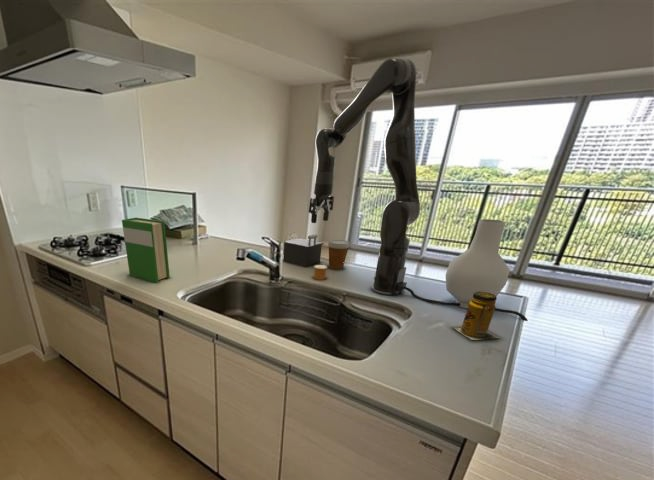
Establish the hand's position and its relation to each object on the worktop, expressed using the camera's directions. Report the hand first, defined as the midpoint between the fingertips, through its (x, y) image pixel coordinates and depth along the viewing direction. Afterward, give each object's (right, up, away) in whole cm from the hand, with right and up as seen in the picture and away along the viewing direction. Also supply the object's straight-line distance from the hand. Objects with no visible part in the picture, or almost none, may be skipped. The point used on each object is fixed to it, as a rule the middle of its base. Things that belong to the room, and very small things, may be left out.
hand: (319, 221), depth 149 cm
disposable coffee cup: (+9, -20, +7) cm, 23 cm away
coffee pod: (-2, -26, -7) cm, 27 cm away
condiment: (+31, -47, -53) cm, 77 cm away
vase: (+41, -38, -34) cm, 66 cm away
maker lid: (-5, -7, +12) cm, 15 cm away
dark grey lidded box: (-5, -15, +16) cm, 22 cm away
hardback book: (-75, -25, -2) cm, 79 cm away
